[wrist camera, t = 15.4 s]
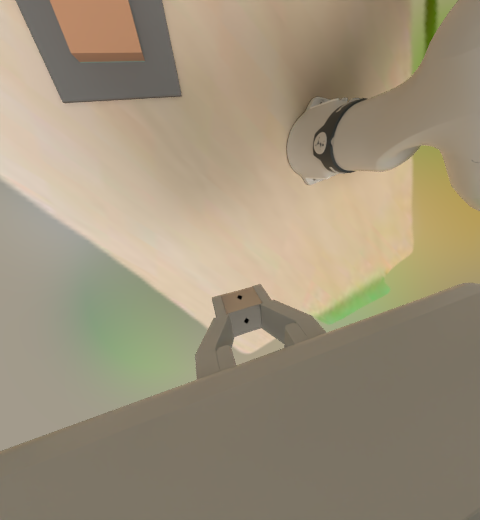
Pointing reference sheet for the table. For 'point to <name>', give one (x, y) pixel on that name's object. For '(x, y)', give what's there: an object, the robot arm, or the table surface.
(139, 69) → the mat
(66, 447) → the robot arm
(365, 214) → the table surface
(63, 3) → the tile
